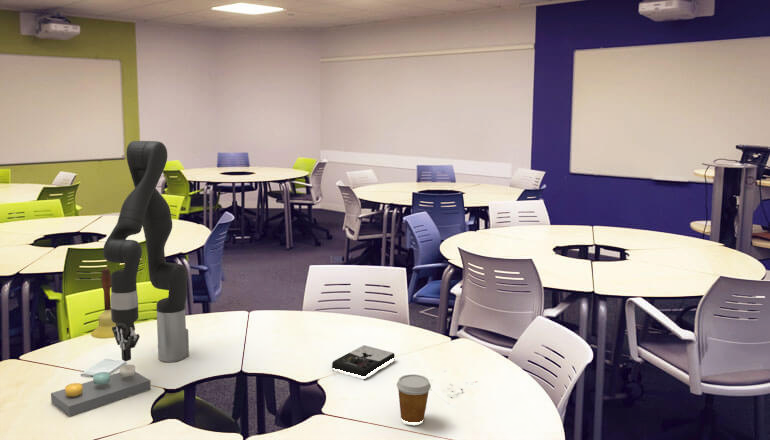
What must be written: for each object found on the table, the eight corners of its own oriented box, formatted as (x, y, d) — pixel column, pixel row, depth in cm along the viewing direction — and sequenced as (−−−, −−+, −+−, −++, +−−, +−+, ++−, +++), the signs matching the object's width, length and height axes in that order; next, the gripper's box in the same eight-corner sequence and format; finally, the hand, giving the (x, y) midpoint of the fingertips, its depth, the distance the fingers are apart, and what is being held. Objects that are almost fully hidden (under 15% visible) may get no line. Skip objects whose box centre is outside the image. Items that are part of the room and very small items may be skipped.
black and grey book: (331, 371, 209) (331, 357, 208) (363, 354, 225) (364, 341, 224) (363, 381, 202) (364, 367, 201) (394, 362, 218) (395, 349, 217)
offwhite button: (131, 369, 194) (130, 363, 194) (138, 373, 191) (137, 367, 191) (117, 373, 191) (116, 367, 190) (124, 377, 188) (124, 371, 187)
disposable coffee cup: (427, 413, 181) (429, 373, 179) (430, 429, 172) (432, 388, 170) (394, 412, 181) (395, 373, 179) (396, 429, 171) (397, 388, 169)
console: (131, 377, 198) (130, 369, 198) (150, 389, 191) (150, 380, 190) (51, 402, 181) (50, 393, 180) (69, 416, 173) (68, 406, 172)
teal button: (105, 377, 188) (105, 370, 188) (112, 381, 185) (112, 375, 185) (90, 381, 185) (90, 375, 184) (97, 386, 182) (97, 379, 181)
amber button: (78, 388, 182) (78, 381, 182) (85, 392, 179) (85, 386, 179) (62, 392, 179) (62, 386, 178) (69, 397, 176) (69, 391, 176)
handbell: (93, 328, 241) (90, 265, 237) (127, 326, 245) (125, 264, 241) (88, 339, 230) (85, 273, 225) (124, 337, 233) (122, 272, 229)
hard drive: (104, 358, 211) (80, 372, 199) (126, 360, 209) (103, 375, 197) (104, 363, 211) (80, 377, 199) (126, 365, 209) (103, 380, 197)
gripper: (147, 307, 186) (149, 362, 188) (125, 298, 194) (127, 351, 197) (123, 312, 180) (125, 369, 183) (101, 302, 189) (104, 357, 191)
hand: (126, 360), depth 190 cm, fingers closed
